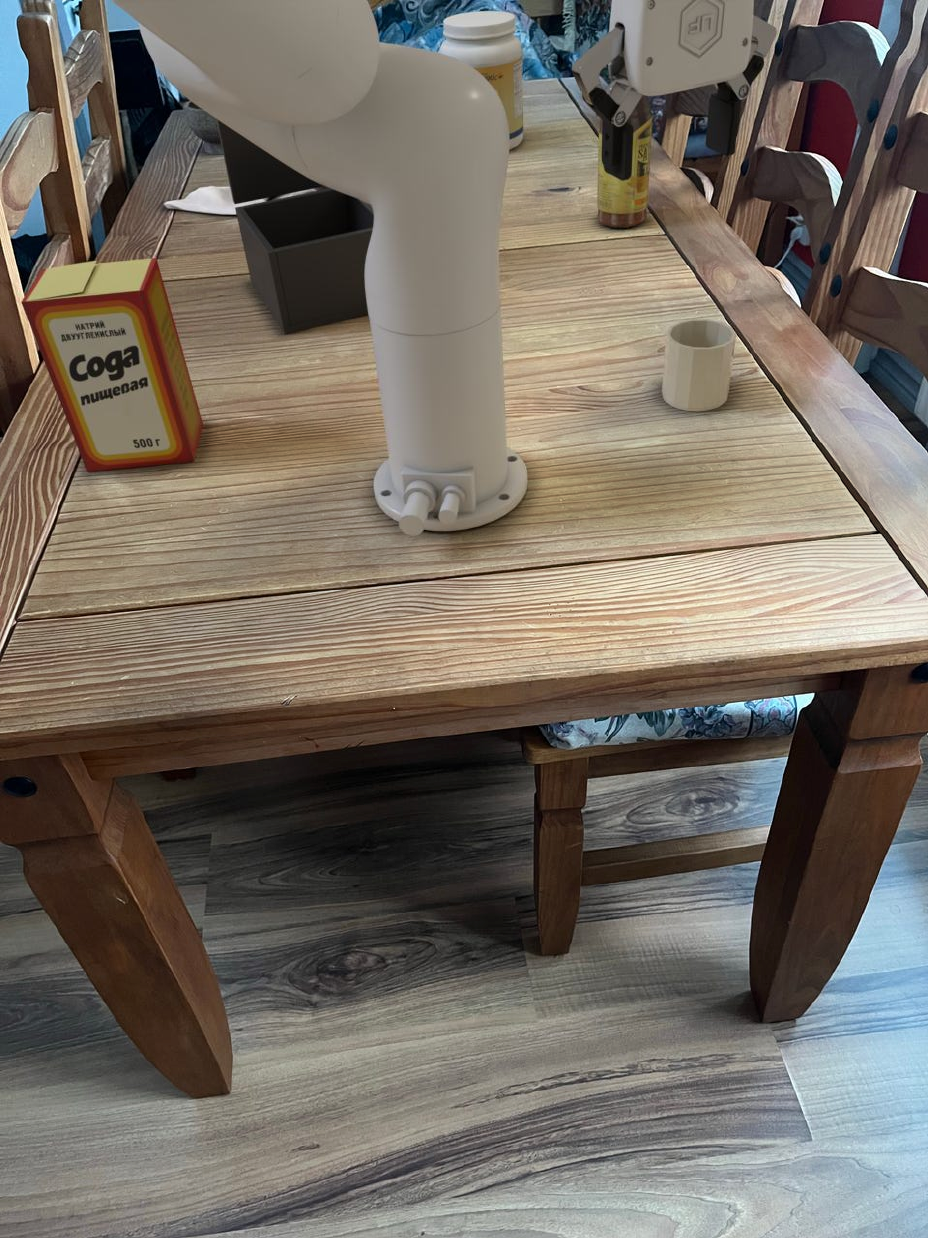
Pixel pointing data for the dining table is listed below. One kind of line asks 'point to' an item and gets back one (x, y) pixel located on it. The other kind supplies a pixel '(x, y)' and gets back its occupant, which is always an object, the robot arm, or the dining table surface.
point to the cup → (698, 364)
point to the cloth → (217, 200)
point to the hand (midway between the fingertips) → (669, 163)
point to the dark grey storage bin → (308, 256)
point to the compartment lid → (257, 170)
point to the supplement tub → (491, 58)
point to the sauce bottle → (630, 197)
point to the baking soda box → (116, 362)
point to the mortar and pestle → (204, 127)
